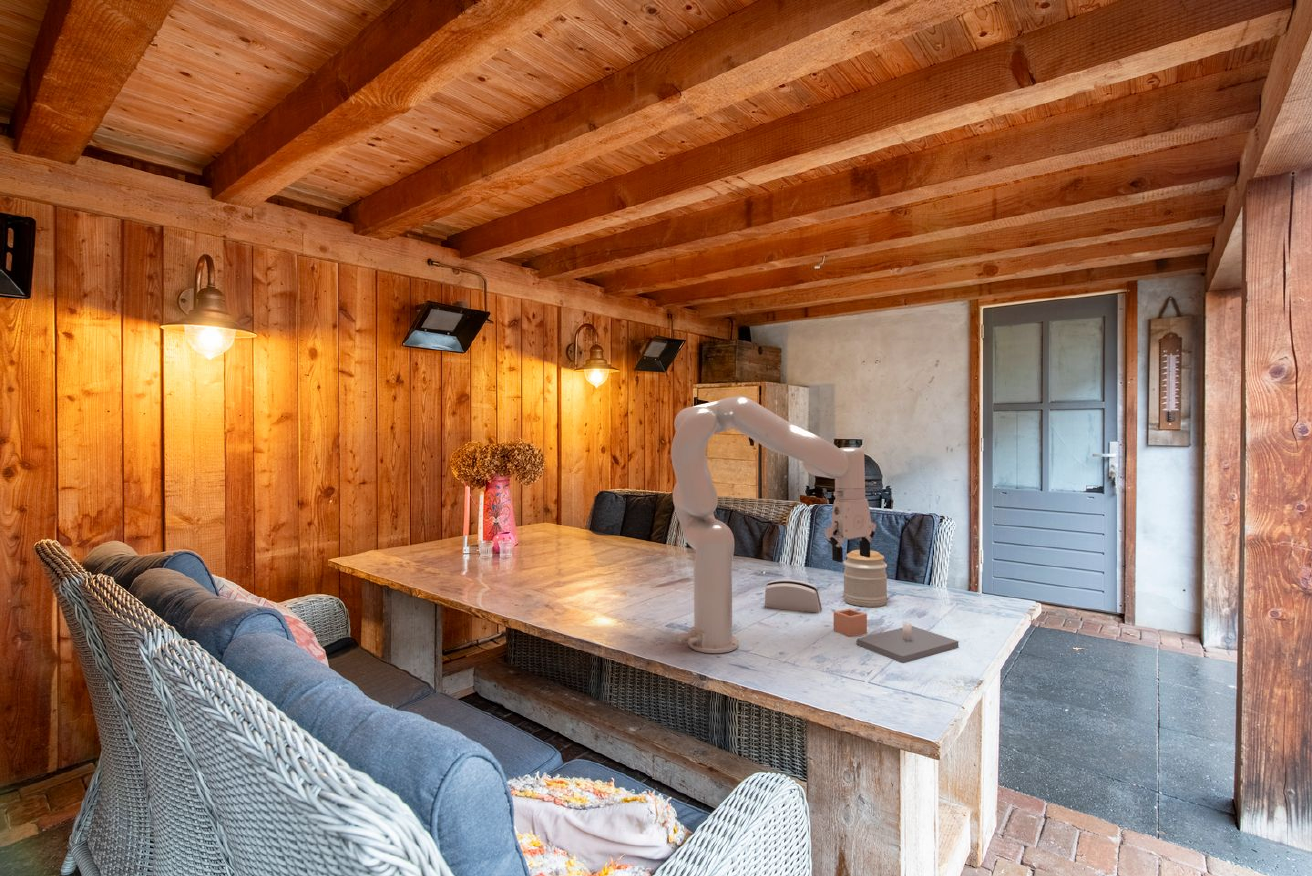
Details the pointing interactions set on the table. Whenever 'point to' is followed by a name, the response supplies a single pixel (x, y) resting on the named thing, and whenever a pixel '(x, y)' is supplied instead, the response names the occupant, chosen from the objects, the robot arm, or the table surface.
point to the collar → (850, 622)
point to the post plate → (907, 643)
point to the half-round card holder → (792, 595)
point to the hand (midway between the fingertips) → (851, 558)
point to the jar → (865, 579)
